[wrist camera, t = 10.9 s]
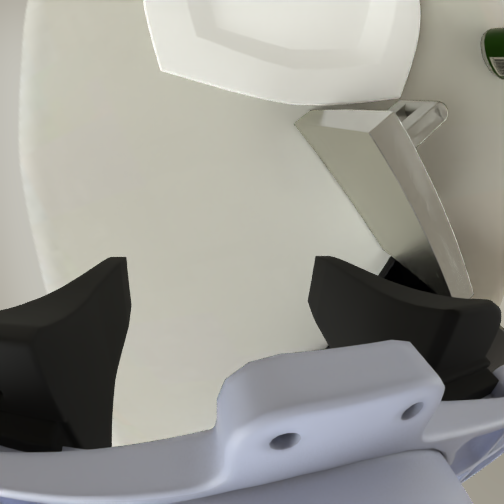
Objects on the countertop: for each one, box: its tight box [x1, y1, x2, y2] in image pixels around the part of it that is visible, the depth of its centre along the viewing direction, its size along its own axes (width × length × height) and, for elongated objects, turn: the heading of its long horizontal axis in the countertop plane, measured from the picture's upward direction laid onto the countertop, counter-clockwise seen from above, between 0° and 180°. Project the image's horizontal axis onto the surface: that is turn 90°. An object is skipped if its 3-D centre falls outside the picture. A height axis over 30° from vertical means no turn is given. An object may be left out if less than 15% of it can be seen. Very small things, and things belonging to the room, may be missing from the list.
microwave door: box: [294, 100, 474, 299], centre depth 18 cm, size 7×13×10 cm, turn 41°
